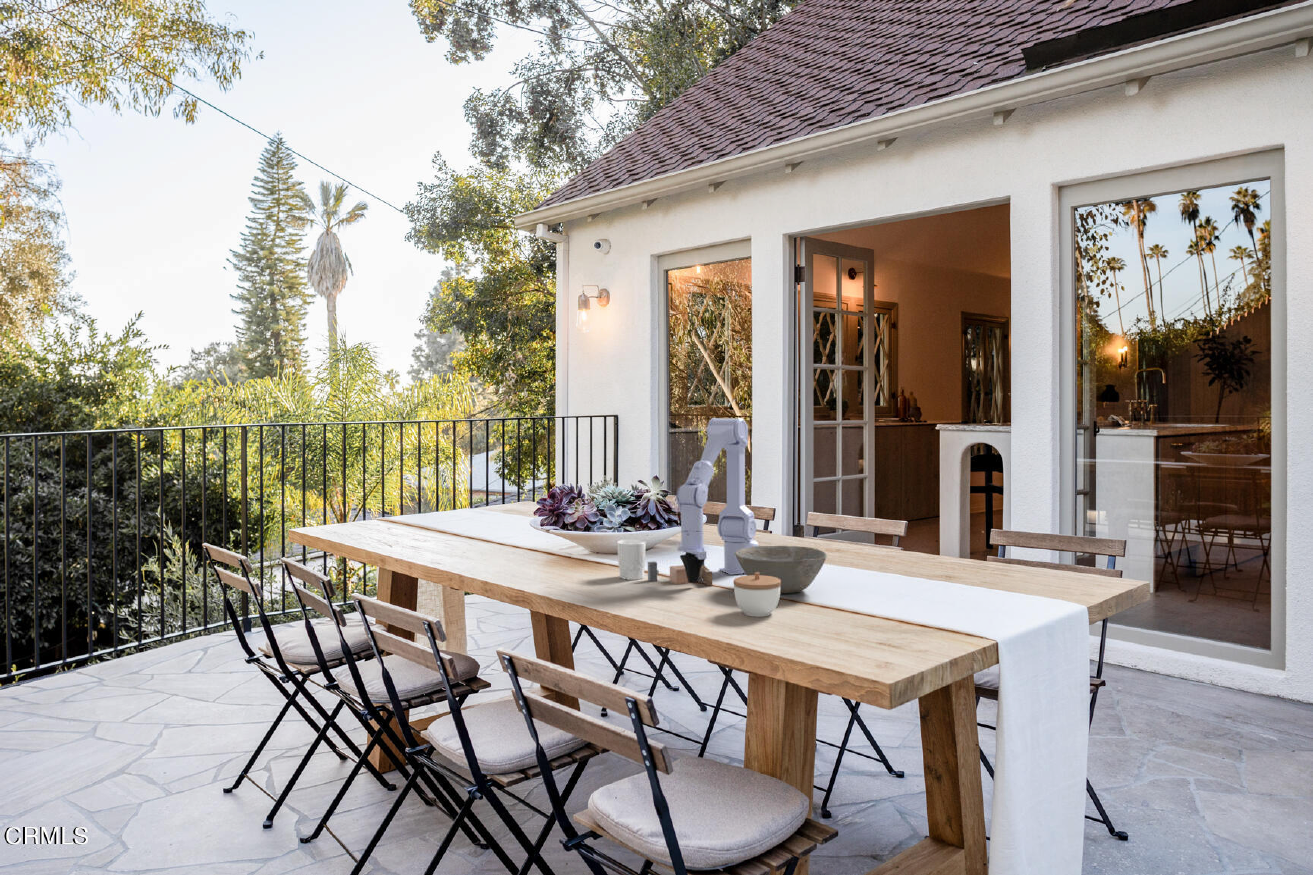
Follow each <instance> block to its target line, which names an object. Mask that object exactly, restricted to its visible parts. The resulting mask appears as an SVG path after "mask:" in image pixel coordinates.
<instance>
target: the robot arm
mask: <svg viewBox="0 0 1313 875" xmlns="http://www.w3.org/2000/svg"><path fill="white" fill-rule="evenodd" d="M706 435H707V441H706V443H705V446H704V450H703V452H702V455H701V458H700V460H698V461H696V462H694V464H693V466H692V468H691V471H690V472H689V475H688V476H687V478H686V481H685V483H684V484H682V485H681V486H679V487H678V489H677V491H676V495H675V499H676V502H677V506H678V511H679V514H680V527H681V528H680V533H681V536H680V538H681V539H680V540H681V541H680V543H679V547H676V548H677V551H678V552H685V553H684V554H682V555H679V558H680V560H681V562H682V564H683V565H684V567H685V570H686V574H687V579H688V582H689V583H688V584H695V583H698V582H699V579H700V577H699V573H700V569H701V566H702V564H703V562H704V563H705V561H706V560H707V551H706V550H705V547H704V506H705V505H706V503H708V502H707V501H708V493H709V485H710V483H711V481H712V479H713V476H714V473H715V469H714V467H713V466H714V464H715V462H716V460H717V458H718V457H719V455H720V453H721V451H722V449H724V450H725V451H726V506H725V507H724V508H723V509H722V510H721V511H720V512H719V516H718V517H719V518H718V522H717V528H716V529H717V533H718V535H719V537H721V540H722V541H723V549H724V550H723V551H724V552H723V553H724V556H723V557H724V563H723V564H724V565H723V566H724V567H719V568H718V569H719V571H722V572H723V573H725V572H726V573H725V574H727V573H728V575H733V576H734V575H741V574H743V573H744V574H745V572H744V570H743V569H742V567H741V565H740V564H739V562H738V559H737V557H736V555H735V552H736V551H737V550H740V549H743V548H750V547H757V546H759V544H758V541H757V540H755V539H754V538H755V536H756V533H757V523H756V520H755V513H754V512H753V511H752V510H751V509H750V508H748V506H746V493H745V492H746V447H747V446H748V445H749V425H748V424H747V422H746V421H745V419H744V418H742V417H737V418H717V417H713V418H711V419H710V420H709V421H708V423H707V427H706Z"/></svg>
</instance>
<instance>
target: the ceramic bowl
mask: <svg viewBox="0 0 1313 875" xmlns="http://www.w3.org/2000/svg"><path fill="white" fill-rule="evenodd" d="M735 555H736V557H737V559H738V562H739V564H740V565H741V567H742V569H743V570H744V572H745V573H744V574H745V576H749V575H755V573H756V572H758V573H759V575H764V576H772V577H776V578H779V579H780V580H781V585H780V595H782V594H795V593H800V592H802V591H805V590H806V589H808V587H810V585H811V584H812V583H813V582H814V580H815V579H816V577H817V575H818V574H819V572H820V571H821V570H822V568H823V566H824V564H825V561H826V559H827V553H826V552H825V551H822V550H820V549H818V548H814V547H808V546H800V545H799V546H795V545H794V546H792V545H791V546H790V545H758V546H757V547H750V548H743V549H740V550H737V551H736V552H735Z"/></svg>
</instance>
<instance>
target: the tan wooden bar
mask: <svg viewBox="0 0 1313 875" xmlns="http://www.w3.org/2000/svg"><path fill="white" fill-rule="evenodd" d="M700 578H702V579H703V581H704V582H705V583H704V582H703V581H702V582H703V583H704V584H705V585H706V586H707V587H712V586H713V571H711V570H710V569H708V567H707V566H705V564H704V565H702V566H701V569H700V577H699V579H700Z"/></svg>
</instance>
